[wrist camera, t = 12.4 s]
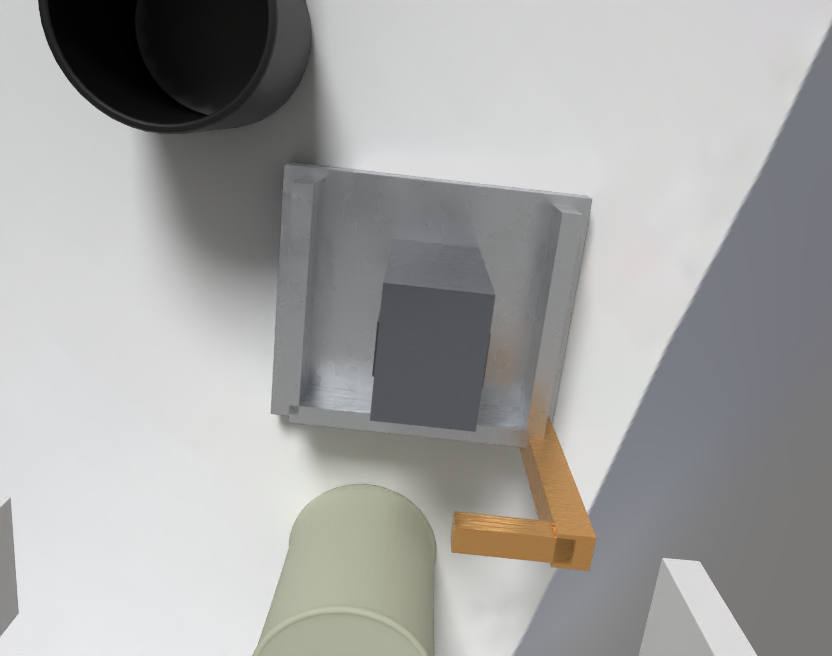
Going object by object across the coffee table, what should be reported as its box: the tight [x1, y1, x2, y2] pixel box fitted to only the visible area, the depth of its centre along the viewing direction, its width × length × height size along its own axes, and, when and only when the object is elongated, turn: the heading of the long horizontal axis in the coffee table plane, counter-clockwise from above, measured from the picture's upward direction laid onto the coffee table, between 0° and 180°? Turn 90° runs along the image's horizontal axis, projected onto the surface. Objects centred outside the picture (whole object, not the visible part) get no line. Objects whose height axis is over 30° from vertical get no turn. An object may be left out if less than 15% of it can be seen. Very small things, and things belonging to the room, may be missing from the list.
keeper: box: [271, 162, 596, 571], centre depth 35 cm, size 16×14×14 cm
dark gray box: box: [370, 239, 496, 432], centre depth 35 cm, size 5×6×10 cm
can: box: [252, 484, 436, 656], centre depth 40 cm, size 9×9×12 cm
